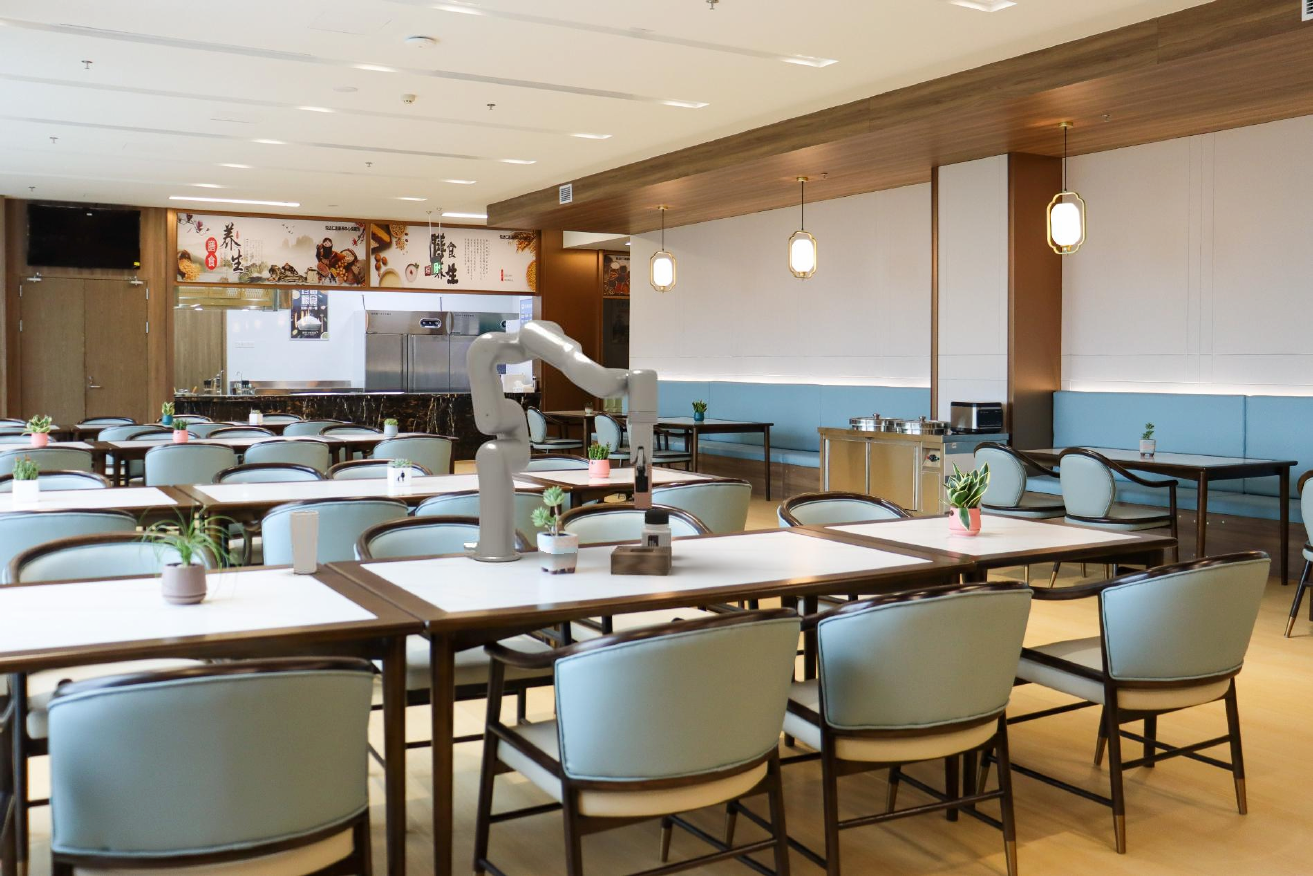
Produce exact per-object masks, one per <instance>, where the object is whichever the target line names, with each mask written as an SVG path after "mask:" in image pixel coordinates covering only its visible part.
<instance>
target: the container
mask: <svg viewBox="0 0 1313 876" xmlns="http://www.w3.org/2000/svg"><path fill="white" fill-rule="evenodd" d="M641 546H660V547H672V528H671V527H670V512H669V511H667V510H666V509H658V508H657V509H653V508H652V509H648V510H646V511H644V527H643V528H642V531H641Z"/></svg>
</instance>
